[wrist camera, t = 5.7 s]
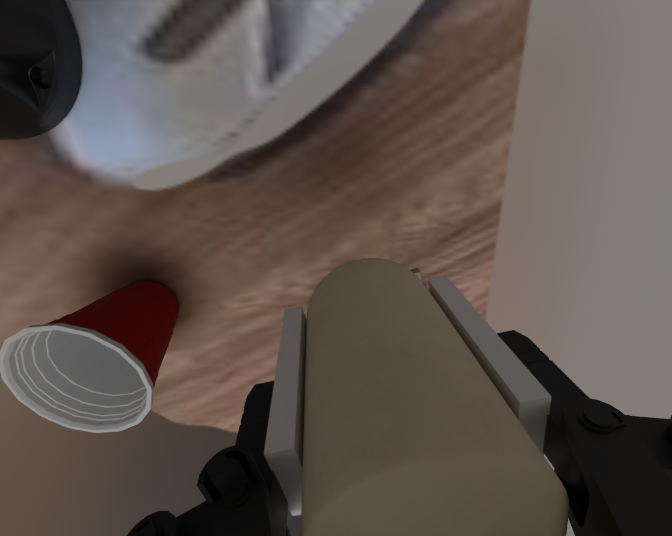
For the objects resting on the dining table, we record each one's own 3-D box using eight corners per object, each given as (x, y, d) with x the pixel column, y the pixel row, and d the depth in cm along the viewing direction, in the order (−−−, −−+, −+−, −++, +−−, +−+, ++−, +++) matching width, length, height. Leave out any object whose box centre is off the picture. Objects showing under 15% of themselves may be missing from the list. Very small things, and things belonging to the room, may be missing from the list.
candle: (442, 263, 13) (719, 559, 4) (412, 363, 16) (550, 696, 7) (314, 249, 13) (318, 567, 4) (301, 356, 15) (284, 717, 6)
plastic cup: (72, 275, 32) (-52, 354, 21) (170, 243, 31) (94, 308, 20) (132, 354, 36) (57, 453, 26) (219, 328, 36) (179, 417, 25)
